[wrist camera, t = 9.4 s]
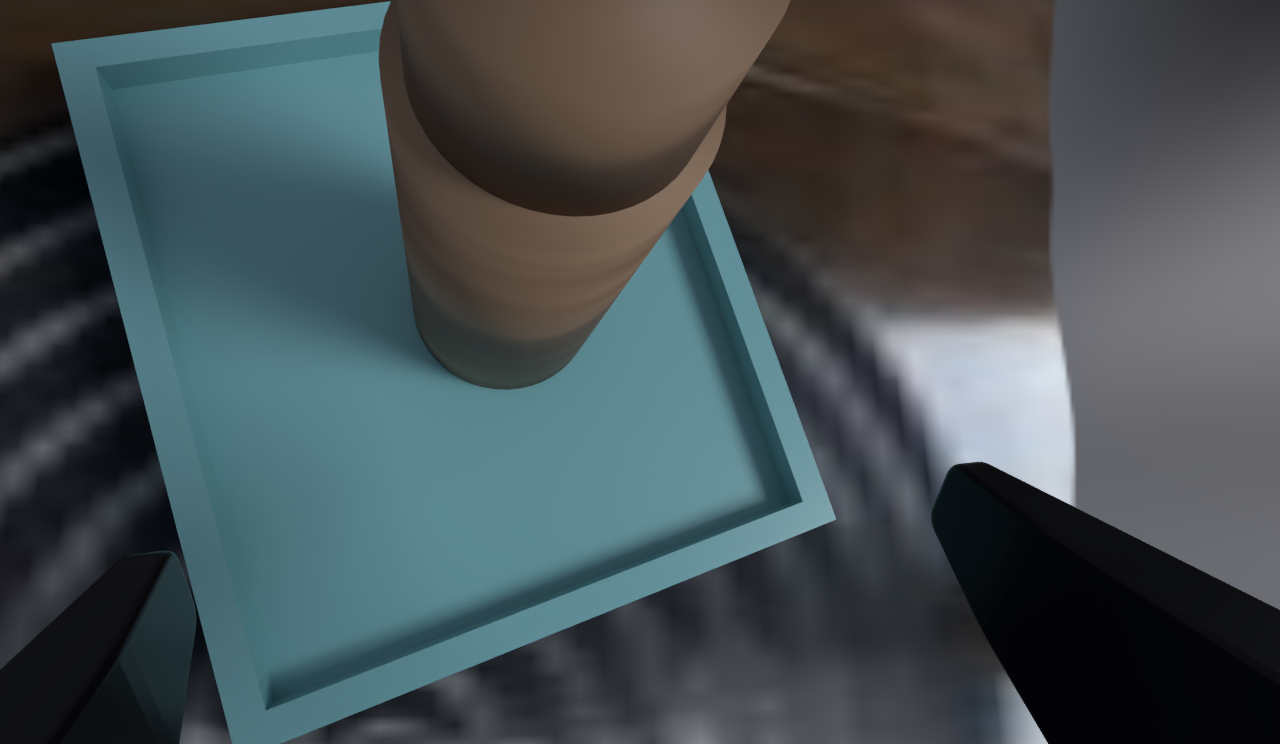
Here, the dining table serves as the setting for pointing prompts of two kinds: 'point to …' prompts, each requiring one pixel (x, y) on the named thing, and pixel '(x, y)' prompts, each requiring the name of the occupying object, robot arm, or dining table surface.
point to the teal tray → (396, 387)
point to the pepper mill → (548, 159)
